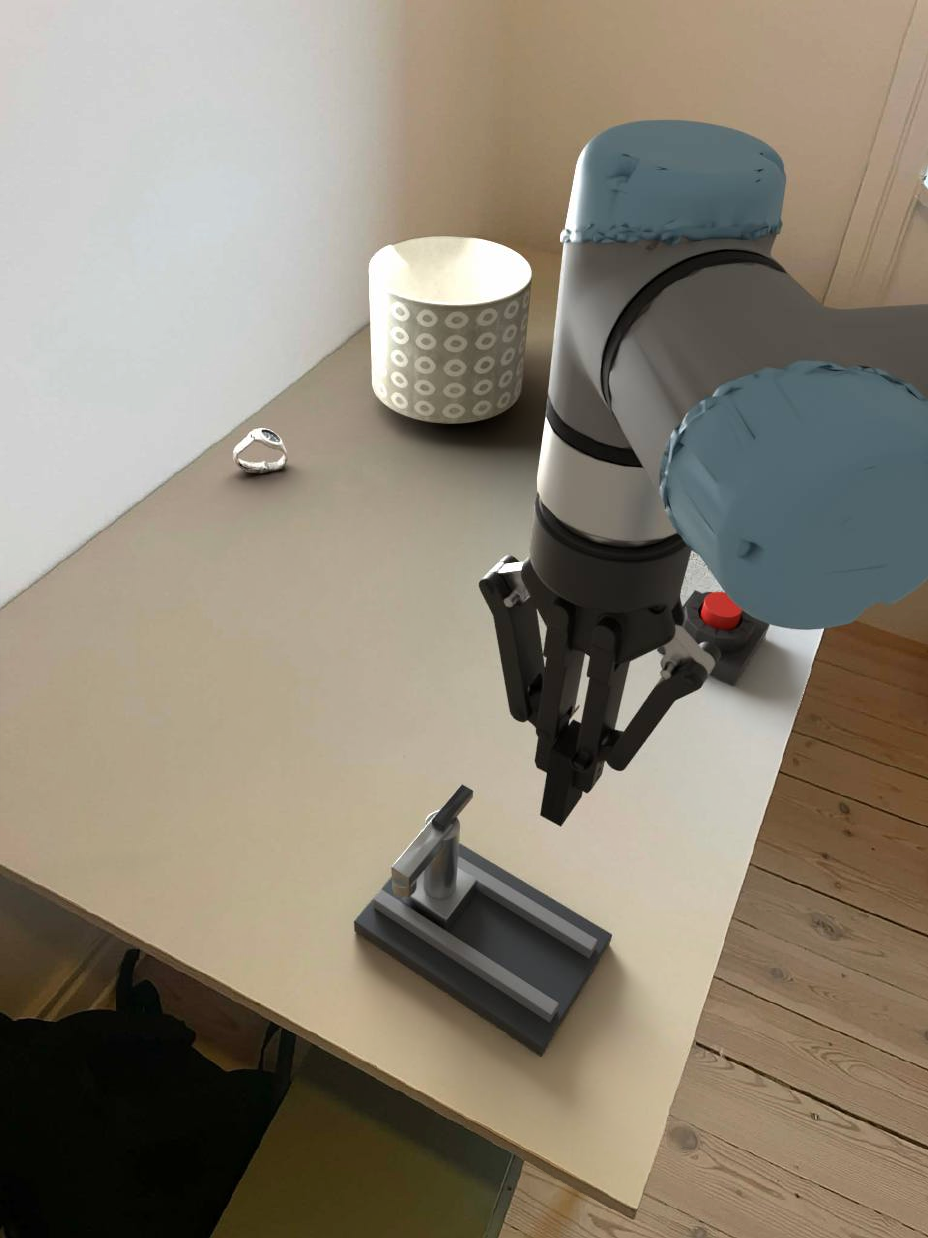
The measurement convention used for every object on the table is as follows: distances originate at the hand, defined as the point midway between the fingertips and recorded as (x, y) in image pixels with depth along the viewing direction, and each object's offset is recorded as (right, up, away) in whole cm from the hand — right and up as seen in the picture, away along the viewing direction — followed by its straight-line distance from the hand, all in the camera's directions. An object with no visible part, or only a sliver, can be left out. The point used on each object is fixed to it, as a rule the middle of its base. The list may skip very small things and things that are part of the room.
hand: (561, 806), depth 60 cm
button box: (+18, +9, +35) cm, 40 cm away
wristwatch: (-30, +29, +53) cm, 67 cm away
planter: (-8, +39, +65) cm, 77 cm away
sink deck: (-5, -12, +11) cm, 17 cm away
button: (+18, +12, +32) cm, 39 cm away
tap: (-8, -10, +11) cm, 17 cm away
